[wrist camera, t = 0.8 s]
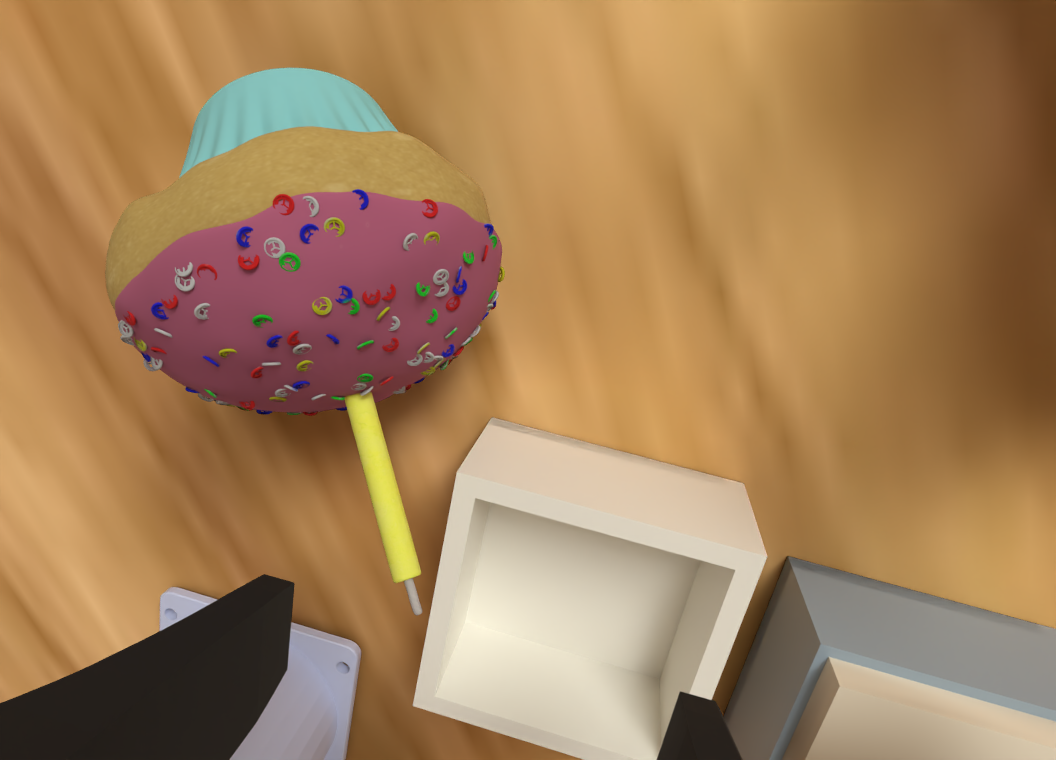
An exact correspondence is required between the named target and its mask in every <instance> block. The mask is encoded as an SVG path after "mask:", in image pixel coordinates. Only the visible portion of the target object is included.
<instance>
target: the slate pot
mask: <svg viewBox="0 0 1056 760" xmlns="http://www.w3.org/2000/svg"><path fill="white" fill-rule="evenodd" d="M828 657H831V658H835V659H838V660H842V661H845V662H849V663H852V664H856V665H859V666H863V667H866V668H870V669H873V670H877V671H880V672H884V673H887V674H891V675H894V676H898V677H901V678H905V679H908V680H912V681H915V682H919V683H922V684H926V685H929V686H933V687H936V688H940V689H943V690H947V691H950V692H954V693H957V694H961V695H964V696H968V697H971V698H975V699H978V700H982V701H985V702H989V703H992V704H996V705H999V706H1003V707H1006V708H1010V709H1013V710H1017V711H1020V712H1024V713H1027V714H1031V715H1034V716H1038V717H1041V718H1045V719H1048V720H1052V721H1055V722H1056V629H1054V628H1050V627H1047V626H1043V625H1039V624H1036V623H1032V622H1028V621H1024V620H1021V619H1017V618H1013V617H1010V616H1006V615H1002V614H999V613H995V612H991V611H988V610H984V609H980V608H977V607H973V606H969V605H966V604H962V603H958V602H955V601H951V600H947V599H944V598H940V597H936V596H933V595H929V594H925V593H922V592H918V591H914V590H911V589H907V588H903V587H900V586H896V585H892V584H889V583H885V582H881V581H877V580H874V579H870V578H866V577H863V576H859V575H855V574H852V573H848V572H844V571H841V570H837V569H833V568H830V567H826V566H822V565H819V564H815V563H811V562H808V561H804V560H800V559H797V558H793V557H789V556H788V557H787V560H786V562H785V565H784V567H783V570H782V572H781V575H780V577H779V579H778V582H777V584H776V587H775V589H774V592H773V594H772V597H771V599H770V602H769V604H768V607H767V609H766V612H765V614H764V617H763V619H762V622H761V624H760V627H759V629H758V632H757V634H756V637H755V639H754V642H753V644H752V647H751V649H750V652H749V654H748V656H747V659H746V661H745V664H744V666H743V669H742V671H741V674H740V676H739V679H738V681H737V684H736V686H735V689H734V691H733V694H732V696H731V699H730V701H729V704H728V706H727V709H726V711H725V714H724V716H723V718H724V720H725V722H726V724H727V727H728V729H729V731H730V733H731V735H732V738H733V740H734V742H735V744H736V746H737V748H738V751H739V753H740V755H741V757H742V759H743V760H782V758H783V756H784V753H785V751H786V749H787V747H788V745H789V743H790V740H791V738H792V736H793V734H794V732H795V729H796V727H797V725H798V723H799V721H800V718H801V716H802V714H803V712H804V710H805V707H806V705H807V703H808V701H809V699H810V696H811V694H812V692H813V690H814V688H815V686H816V683H817V681H818V679H819V677H820V675H821V672H822V670H823V668H824V666H825V664H826V661H827V659H828Z"/></svg>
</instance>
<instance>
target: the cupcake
mask: <svg viewBox="0 0 1056 760" xmlns="http://www.w3.org/2000/svg"><path fill="white" fill-rule="evenodd" d="M501 256H502V246H501V242H500V240H499V238H498V235H497V234H496V232H495V230H494V228H493V226H492V224H491V222H490V218H489V214H488V209H487V205H486V201H485V198H484V195H483V192H482V190H481V189H480V187H479V186H478V184H477V183H476V182H475V181H474V180H473V179H472V178H471V177H469V176H468V175H467V174H465V173H464V172H462V171H461V170H460V169H458V168H457V167H456V166H454V165H453V164H452V163H450V162H449V161H447V160H446V159H444V158H443V157H442V156H441V155H439V154H438V153H437V152H435V151H434V150H433V149H431V148H430V147H429V146H427V145H426V144H424V143H423V142H421V141H419V140H418V139H416V138H414V137H412V136H410V135H407V134H405V133H400V132H398V131H397V130H396V128H395V127H394V126H393V125H392V123H391V122H390V121H389V119H388V118H387V116H386V115H385V114H384V112H383V111H382V109H381V108H380V106H379V105H378V104H377V103H376V102H375V100H374V99H373V98H372V97H371V96H370V95H368V94H367V93H366V92H365V91H364V90H362V89H361V88H359V87H358V86H356V85H355V84H353V83H351V82H350V81H348V80H346V79H343V78H341V77H339V76H336V75H333V74H330V73H327V72H323V71H318V70H313V69H305V68H278V69H270V70H264V71H260V72H256V73H252V74H249V75H246V76H244V77H241V78H239V79H237V80H235V81H233V82H231V83H229V84H227V85H226V86H224V87H223V88H221V89H220V90H219V91H218V92H216V93H215V94H214V95H213V96H212V97H211V98H210V99H209V100H208V101H207V102H206V104H205V105H204V106H203V108H202V109H201V111H200V113H199V114H198V117H197V119H196V121H195V124H194V128H193V132H192V137H191V141H190V145H189V149H188V152H187V156H186V159H185V162H184V166H183V169H182V172H181V174H180V177H179V179H178V180H177V181H175V182H174V183H173V184H172V185H171V186H169V187H168V188H167V189H165V190H163V191H161V192H158V193H155V194H152V195H148V196H145V197H142V198H139V199H137V200H135V201H133V202H132V203H131V204H129V205H128V207H127V208H126V209H125V210H124V212H123V214H122V215H121V217H120V219H119V221H118V223H117V225H116V227H115V228H114V230H113V233H112V235H111V238H110V242H109V247H108V252H107V259H106V271H105V277H106V287H107V292H108V296H109V299H110V302H111V304H112V306H113V308H114V310H115V313H116V316H117V319H118V321H119V324H118V327H119V330H120V332H121V334H122V336H121V337H120V338H121V340H122V341H124V342H125V343H127V344H130V345H134V347H135V348H136V349H137V350H138V351H139V352H140V353H141V354H142V355H143V357H144V358H145V359H144V366H145V367H146V369H148V370H150V371H156V370H159V369H160V370H161V371H163V372H164V373H165V374H167V375H168V376H170V377H171V378H173V379H174V380H176V381H177V382H179V383H181V384H183V385H184V386H186V391H189V392H193V393H198V396H199V397H200V398H201V399H203V400H205V401H209V402H211V401H213V400H214V401H216V403H217V404H220V405H227V406H233V407H238V408H240V409H242V410H247V411H248V410H253V409H255V410H257V413H259V414H270V413H272V412H273V411H274V412H287V414H289V415H298V414H301V413H304V414H305V415H308V416H312V415H315V414H317V413H318V412H320V411H326V410H331V409H337V410H342V411H343V410H347V411H348V415H349V418H350V422H351V426H352V429H353V433H354V437H355V441H356V444H357V448H358V452H359V456H360V459H361V463H362V467H363V471H364V474H365V478H366V482H367V486H368V489H369V493H370V497H371V500H372V504H373V508H374V512H375V515H376V519H377V523H378V527H379V530H380V534H381V538H382V542H383V545H384V549H385V553H386V557H387V560H388V564H389V568H390V571H391V575H392V579H393V582H394V583H398V582H402V581H404V583H405V586H406V589H407V593H408V596H409V600H410V604H411V607H412V610H413V612H414V614H415V615H420V614H421V613H422V608H421V605H420V602H419V598H418V594H417V591H416V587H415V584H414V581H413V578H414V577H416V576H419V575H420V574H421V569H420V565H419V562H418V558H417V555H416V551H415V547H414V544H413V540H412V536H411V533H410V529H409V526H408V522H407V518H406V515H405V511H404V507H403V504H402V500H401V497H400V493H399V489H398V486H397V482H396V479H395V475H394V471H393V468H392V464H391V460H390V457H389V453H388V450H387V446H386V442H385V439H384V435H383V431H382V428H381V424H380V421H379V417H378V413H377V410H376V406H375V403H376V402H379V401H381V400H384V399H386V398H388V397H390V396H391V395H393V394H394V393H395V394H400V393H405V392H406V390H408V389H410V388H411V384H413V383H419V382H421V381H423V380H424V377H425V376H427V375H431V374H433V373H434V372H435V370H436V369H438V368H439V367H440V370H444V369H445V368H446V367H447V365H449V364H450V362H451V361H452V359H454V358H456V357H458V355H459V354H460V353H461V352H462V350H463V348H464V346H465V345H467V344H468V343H469V342H471V341H472V339H473V338H472V337H474V336H476V335H477V334H478V333H479V331H480V327H481V322H482V320H483V319H484V318H485V317H486V316H487V315H488V314H489V312H487V311H489V310H490V309H491V310H492V309H494V308H495V307H496V299H497V298H498V295H499V293H498V291H496V289H497V285H498V282H501V281H502V280H503V279H504V275H505V272H504V269H503V267H500V264H501ZM500 271H501V273H500ZM500 274H502V275H501V278H500ZM476 330H477V331H476ZM475 331H476V332H475ZM127 338H128V339H127ZM128 340H129V341H128ZM130 341H131V342H130ZM150 361H151V363H148V362H150ZM148 364H152V366H153V367H150V366H149V365H148ZM444 364H445V365H444ZM442 365H443V366H442ZM407 386H408V387H407ZM202 395H203V396H205V397H206V398H205V397H203V396H202ZM207 397H209V398H207ZM344 407H345V408H344ZM262 411H264V412H262ZM265 411H268V412H265ZM312 412H313V413H312Z"/></svg>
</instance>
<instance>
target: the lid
mask: <svg viewBox="0 0 1056 760" xmlns="http://www.w3.org/2000/svg"><path fill="white" fill-rule="evenodd" d="M782 760H1056V722H1055V721H1052V720H1048V719H1045V718H1041V717H1038V716H1034V715H1031V714H1027V713H1024V712H1020V711H1017V710H1013V709H1010V708H1006V707H1003V706H999V705H996V704H992V703H989V702H985V701H982V700H978V699H975V698H971V697H968V696H964V695H961V694H957V693H954V692H950V691H947V690H943V689H940V688H936V687H933V686H929V685H926V684H922V683H919V682H915V681H912V680H908V679H905V678H901V677H898V676H894V675H891V674H887V673H884V672H880V671H877V670H873V669H870V668H866V667H863V666H859V665H856V664H852V663H849V662H845V661H842V660H838V659H835V658H831V657H828V659H827V661H826V664H825V666H824V668H823V670H822V672H821V675H820V677H819V679H818V681H817V683H816V686H815V688H814V690H813V692H812V694H811V696H810V699H809V701H808V703H807V705H806V707H805V710H804V712H803V714H802V716H801V718H800V721H799V723H798V725H797V727H796V729H795V732H794V734H793V736H792V738H791V740H790V743H789V745H788V747H787V749H786V751H785V753H784V756H783V758H782Z"/></svg>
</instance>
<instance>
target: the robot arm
mask: <svg viewBox="0 0 1056 760" xmlns="http://www.w3.org/2000/svg"><path fill="white" fill-rule="evenodd" d="M293 594H294V583H293V582H290V581H286V580H283V579H279V578H276V577H272V576H268V575H265V574H264V575H262V576H260V577H258V578H256V579H254V580H253V581H251V582H249V583H247V584H245V585H243V586H242V587H240V588H238V589H236V590H234V591H233V592H231V593H229V594H227V595H225V596H224V597H222V598H220V599H218V600H217V599H214V598H211V597H207V596H204V595H201V594H198V593H194V592H191V591H188V590H184V589H181V588H178V587H171V588H169V589H168V590H166V591H165V592H164V593H163V594H162V595H161V598H160V631H159V632H158V633H156V634H154V635H152V636H150V637H148V638H146V639H144V640H142V641H140V642H138V643H136V644H134V645H132V646H130V647H128V648H126V649H123V650H121V651H119V652H117V653H115V654H113V655H111V656H109V657H107V658H105V659H103V660H101V661H99V662H97V663H95V664H93V665H91V666H89V667H86V668H84V669H82V670H80V671H78V672H75V673H73V674H71V675H68V676H66V677H64V678H62V679H59V680H57V681H55V682H52V683H50V684H47V685H45V686H42V687H40V688H38V689H35V690H33V691H30V692H28V693H25V694H23V695H20V696H18V697H15V698H13V699H10V700H8V701H5V702H2V703H0V760H346V754H347V747H348V740H349V733H350V727H351V720H352V713H353V706H354V700H355V693H356V686H357V680H358V673H359V666H360V659H361V650H360V648H359V646H358V645H357V644H356V643H355V642H353V641H351V640H348V639H345V638H342V637H338V636H335V635H332V634H328V633H325V632H322V631H319V630H315V629H312V628H309V627H306V626H302V625H299V624H296V623H292V622H291V619H292V607H293ZM343 662H344V663H346V664H347V665H348V666H346V665H345V664H343ZM657 760H743V759H742V757H741V755H740V753H739V751H738V748H737V746H736V744H735V742H734V740H733V738H732V735H731V733H730V731H729V729H728V727H727V724H726V722H725V720H724V718H723V715H722V713H721V711H720V709H719V707H718V705H717V704H716V702H715V701H713V700H709V699H706V698H702V697H699V696H695V695H692V694H688V693H685V692H681V691H680V692H679V695H678V698H677V701H676V704H675V707H674V710H673V713H672V716H671V719H670V722H669V725H668V728H667V731H666V734H665V737H664V739H663V742H662V745H661V748H660V751H659V754H658V757H657Z"/></svg>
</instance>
